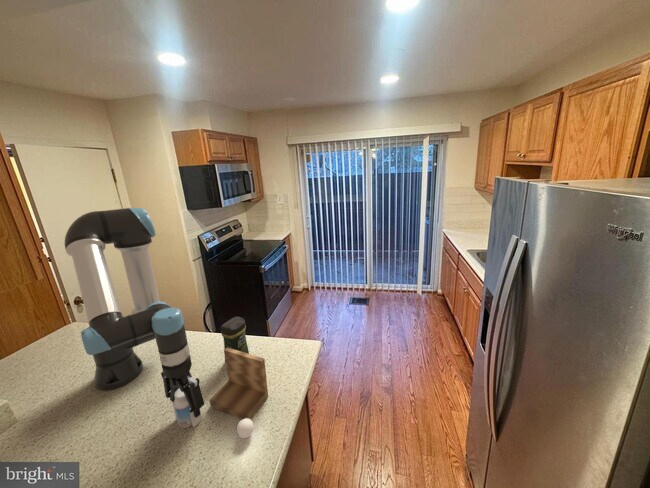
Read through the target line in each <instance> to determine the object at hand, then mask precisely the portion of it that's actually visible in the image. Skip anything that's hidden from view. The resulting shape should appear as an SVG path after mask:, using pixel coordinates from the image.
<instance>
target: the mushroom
mask: <svg viewBox="0 0 650 488" xmlns="http://www.w3.org/2000/svg"><path fill="white" fill-rule="evenodd" d="M254 428H255V426H254V421H253V419H248V418H245V419H243V420H241V419H240V420H239V422H238V424H237V425H236V433H237V435H238V436H239V438H241V439H247V438H249V437H250V436H251V435H252V434H253V432H254Z"/></svg>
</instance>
